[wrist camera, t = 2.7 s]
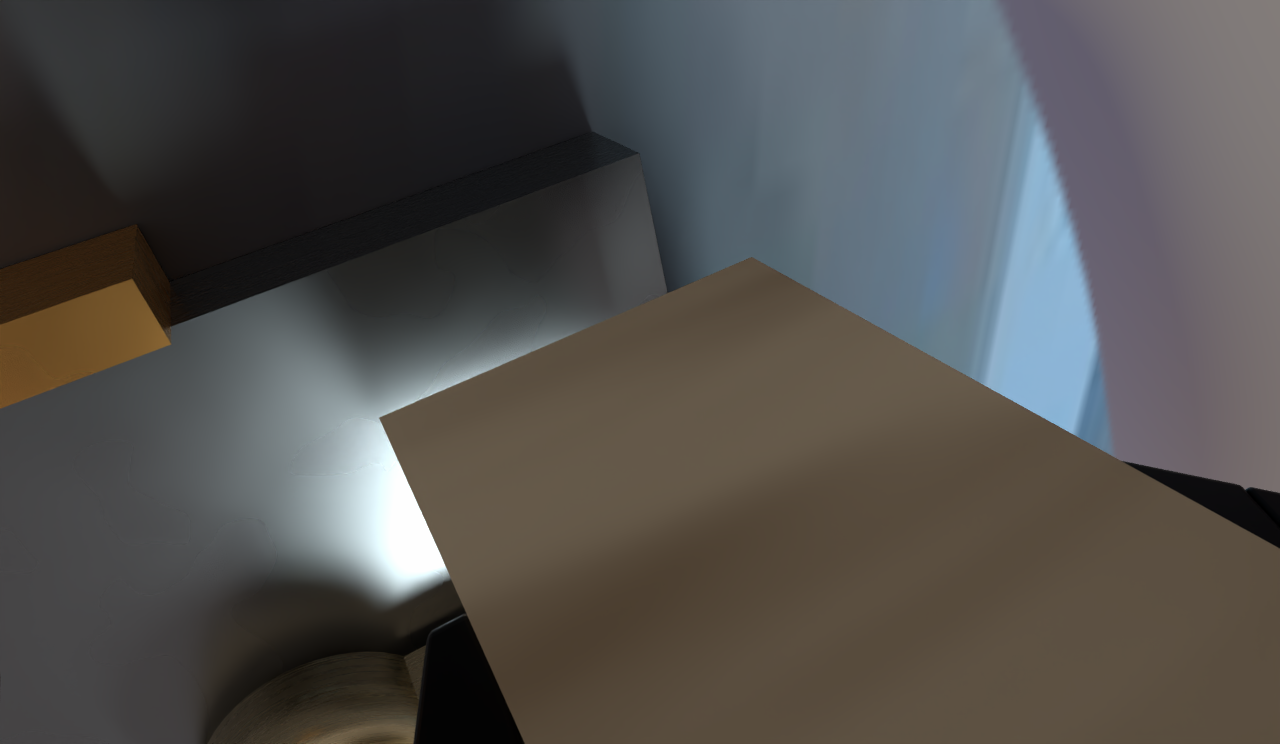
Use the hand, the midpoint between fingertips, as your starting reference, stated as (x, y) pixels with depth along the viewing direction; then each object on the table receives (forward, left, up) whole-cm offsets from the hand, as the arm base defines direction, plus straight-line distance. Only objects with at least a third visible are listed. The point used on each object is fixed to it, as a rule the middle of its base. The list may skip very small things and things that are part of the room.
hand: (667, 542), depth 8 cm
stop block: (0, 0, -1) cm, 1 cm away
